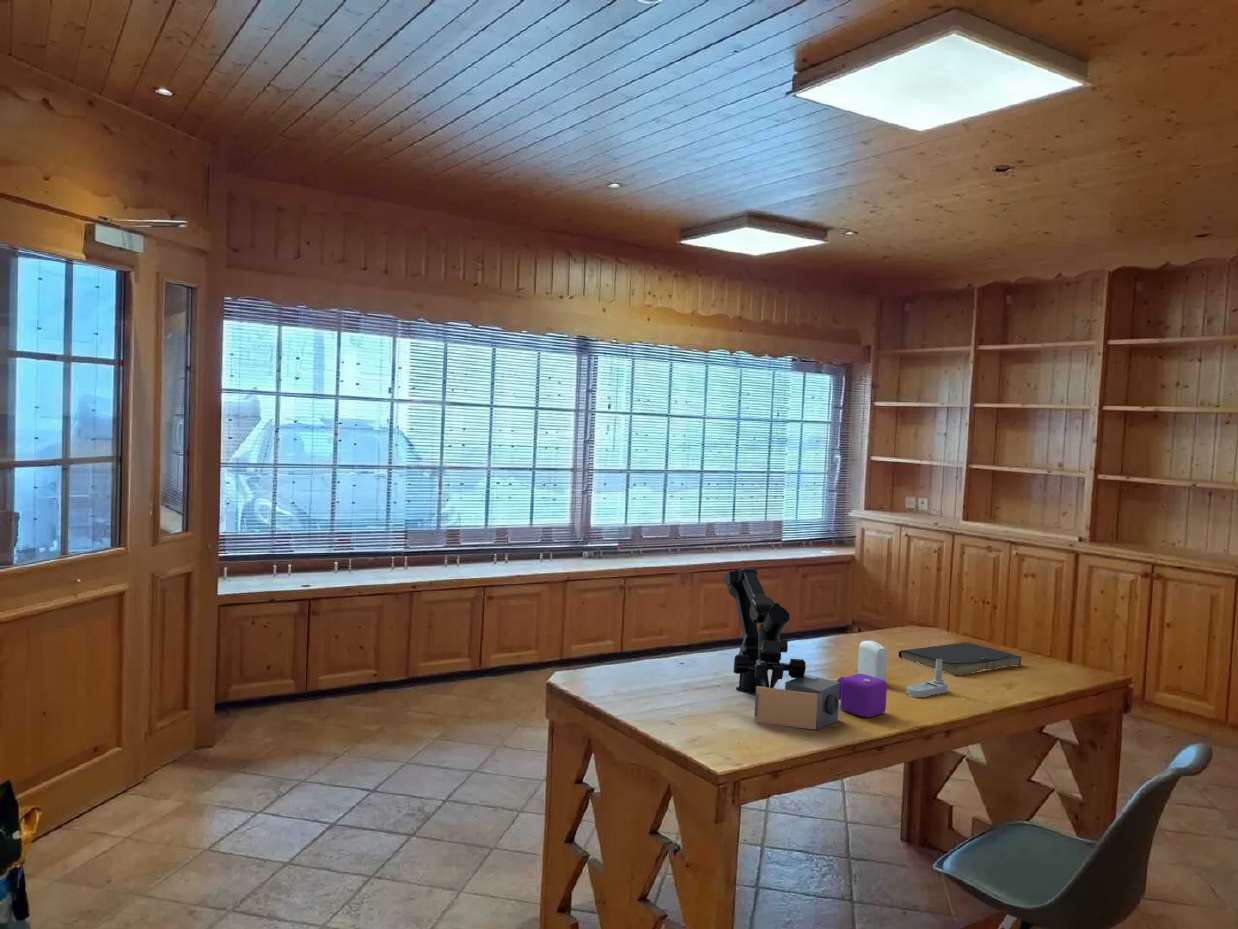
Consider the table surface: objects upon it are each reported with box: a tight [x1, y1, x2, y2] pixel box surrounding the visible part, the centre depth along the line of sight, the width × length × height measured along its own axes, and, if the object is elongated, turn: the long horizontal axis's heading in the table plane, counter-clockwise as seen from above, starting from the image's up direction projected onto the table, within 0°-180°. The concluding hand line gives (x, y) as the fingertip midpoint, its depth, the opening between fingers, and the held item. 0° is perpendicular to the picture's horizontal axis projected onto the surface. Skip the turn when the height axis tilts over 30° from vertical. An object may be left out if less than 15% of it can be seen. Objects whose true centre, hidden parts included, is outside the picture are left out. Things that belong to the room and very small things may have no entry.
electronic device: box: [905, 659, 948, 698], centre depth 258 cm, size 5×10×15 cm
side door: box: [754, 686, 822, 731], centre depth 223 cm, size 17×2×9 cm, turn 74°
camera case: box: [784, 674, 840, 729], centre depth 228 cm, size 11×11×11 cm
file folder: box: [898, 641, 1022, 676], centre depth 296 cm, size 33×4×24 cm
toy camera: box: [836, 673, 888, 719], centre depth 238 cm, size 11×14×10 cm
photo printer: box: [857, 640, 888, 682], centre depth 267 cm, size 10×4×12 cm, turn 20°
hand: (769, 695), depth 227 cm, fingers closed
